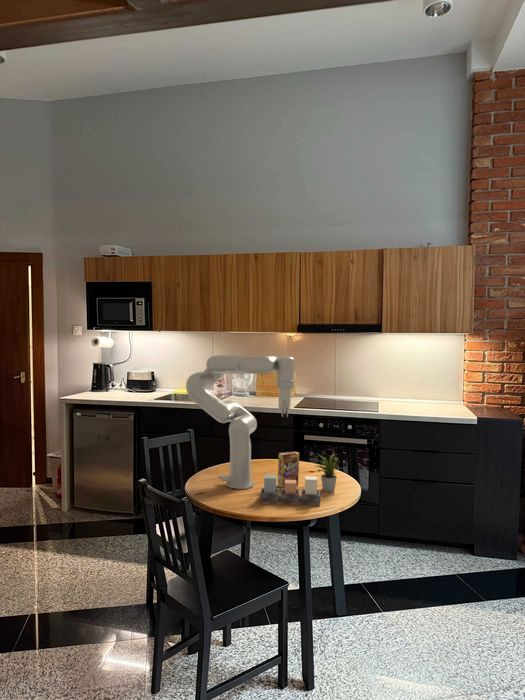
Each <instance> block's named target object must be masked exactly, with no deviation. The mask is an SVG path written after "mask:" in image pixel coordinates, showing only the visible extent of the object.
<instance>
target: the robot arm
mask: <svg viewBox="0 0 525 700" xmlns="http://www.w3.org/2000/svg"><path fill="white" fill-rule="evenodd" d="M205 366H206V369H204V371H200V372H199V371H198V372H195V373H193V374H190V376H189V377H188V378H187V380H186V383H185V384H186V385H185V386H186V387H185V389H186V392H187V393H186V394H187V396H188V398H190V400H191V401H192V402H193V403H194V404H196V405H197V407H200V408H201V409H202V410H203V411H204V412H205V413H207V415H209V416H211V417H212V418H213V419H215V420H216V421H217V422H219V423H221V424H226V423H228V422H230V423H229V427H228V435H229V445H230V446H229V453H230V454H229V474H227V475H220V481H222V482H226V483H225V484H226V487H227V486H228V488H229V487H230V489H233V488H235V490H245V489H247V490H248V489H251V488H253V487H254V485H255V482H254V481H253V480H251V479H252V478H251V474H252V472H251V471H252V467H251V464H252V457H251V456H252V443H251V438H250V437H251V436H250V435H251V434H252V433H254V432H255V431H256V430H257V427H258V423H257V419H256V418H255V416H254V415H253V414H252V413H251V412H249V411H247V410H246V408H244V407H243V406H241V405H240V404H239V403H237V402H235V401H233V400H222V399H220V398H219V397H218V396H216V395H215V394H214V393H212V392H210V391H209V390H207V389H210V388H212V387H213V386H215V384H217V382H219V380H220V379H221V378H223V376H224V375H225V374H228V375H229V374H231V375H234V374H237V375H239V374H241V375H242V374H243V375H244V374H248V375H249V374H253V375H254V374H255V375H256V374H260V375H261V374H269V373H275V372H276V388H277V389H278V408H277V409H278V411H281V416H280V427H289V411H290V410H291V409H290V408H291V397H292V389H294V388H295V387H294V386H295V358H294V357H292V356H277V355H264V356H244V355H241V354H230V355H229V354H228V355H227V354H224V355H223V354H218V355H212V356H210V357H209V358H208V359H207V361H206V364H205Z"/></svg>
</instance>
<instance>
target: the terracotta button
mask: <svg viewBox="0 0 525 700" xmlns="http://www.w3.org/2000/svg"><path fill="white" fill-rule="evenodd" d="M284 488H285V494H296V489H297V486H296V480H285V487H284Z"/></svg>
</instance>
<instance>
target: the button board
mask: <svg viewBox="0 0 525 700" xmlns="http://www.w3.org/2000/svg"><path fill="white" fill-rule="evenodd" d="M280 488H281V487H276V493H264V487H261V490H260V494H259V495H260V497H259V498H260V500H259V501H260V504H261V505H276V506H277V505H280V506H281V505H282V506H284V505H285V506H308V507H311V506H314V507H320V506H321V490H320V489H317V495H312V494H305V488H302V489H301V491H300V489H299V488H296V494H285V487H282V488H281V490H280ZM300 493H301V494H300Z"/></svg>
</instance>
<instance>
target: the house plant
mask: <svg viewBox="0 0 525 700" xmlns="http://www.w3.org/2000/svg"><path fill="white" fill-rule="evenodd" d="M317 455H318V456H319V457H321V460H319V459H316V458H313V459H314V460H316V461H317V462H319V464H317V465H316V464H314V465H313V466H314V467H316V468H317V469H316V472H317V473H320V472H323V474H321V475H320V480H321V485H322V486H321V487H322V490H323V491H324V492H329V493H331V491H332V492H334V491H335V489H336V483H337V478H338V476H337V475H336V474H337V472H336V471H337V470H339V469H340V470H341V469H342V470H343V467H339V468H336V467H337V465H338V464H339V462H338V459H339V457H337V456H335V453H333V454H331V455H330V457H329V459H327V458H326V457H325V456H322V455H320V454H318V453H317ZM334 457H335V458H334ZM335 468H336V469H335Z"/></svg>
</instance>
